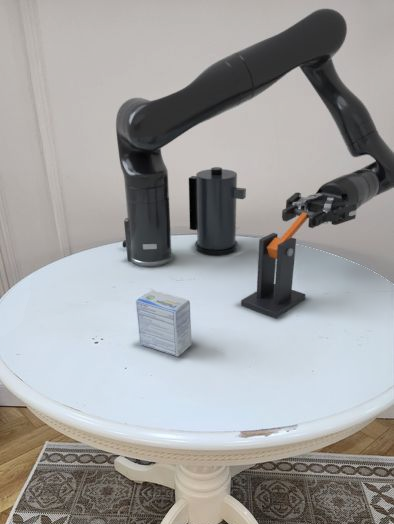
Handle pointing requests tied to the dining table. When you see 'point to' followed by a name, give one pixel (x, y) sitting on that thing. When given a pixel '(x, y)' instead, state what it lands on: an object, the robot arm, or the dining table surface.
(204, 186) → the kettle
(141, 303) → the medicine box
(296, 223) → the switch lever
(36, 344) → the dining table surface
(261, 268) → the base
